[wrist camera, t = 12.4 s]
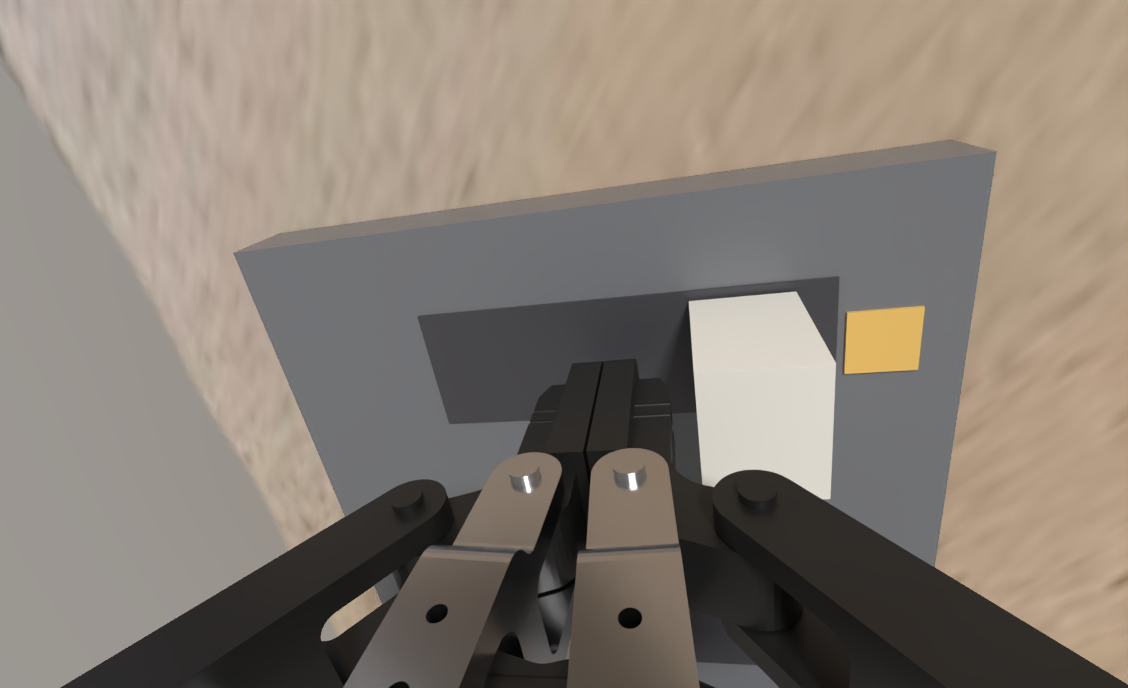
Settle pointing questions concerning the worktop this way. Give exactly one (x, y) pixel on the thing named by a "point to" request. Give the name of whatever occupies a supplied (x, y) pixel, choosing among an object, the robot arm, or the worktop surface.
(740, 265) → the switch bank
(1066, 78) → the worktop surface
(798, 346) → the tab
